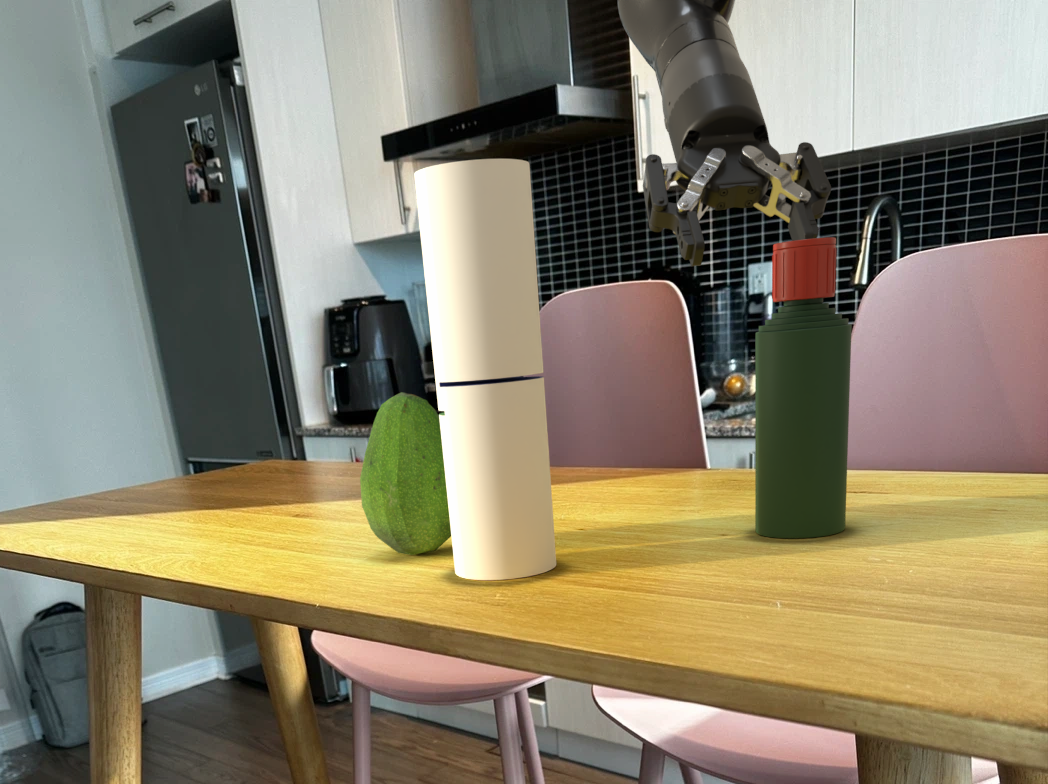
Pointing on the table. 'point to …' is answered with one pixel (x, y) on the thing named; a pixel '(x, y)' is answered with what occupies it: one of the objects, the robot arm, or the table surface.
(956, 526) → the table surface
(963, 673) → the table surface
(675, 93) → the robot arm
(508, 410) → the cylindrical container
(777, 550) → the table surface
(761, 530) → the bottle
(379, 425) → the avocado
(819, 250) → the cap
